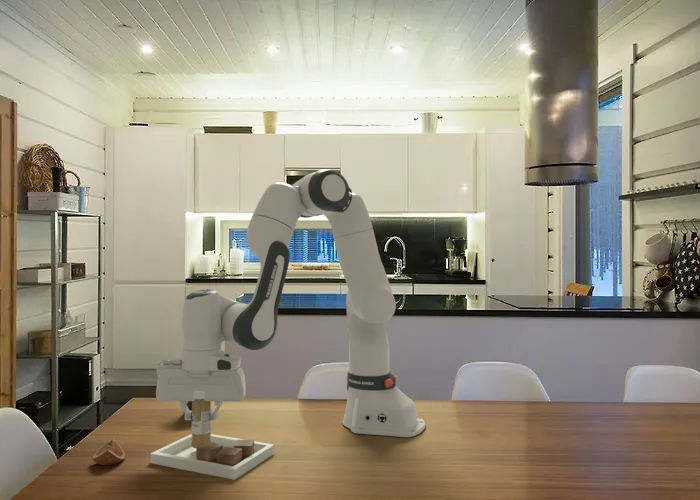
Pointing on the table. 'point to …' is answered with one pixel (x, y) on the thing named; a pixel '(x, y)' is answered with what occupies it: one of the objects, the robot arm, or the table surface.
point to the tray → (185, 459)
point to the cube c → (245, 447)
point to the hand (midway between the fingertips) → (201, 419)
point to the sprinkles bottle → (200, 419)
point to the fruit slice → (109, 453)
